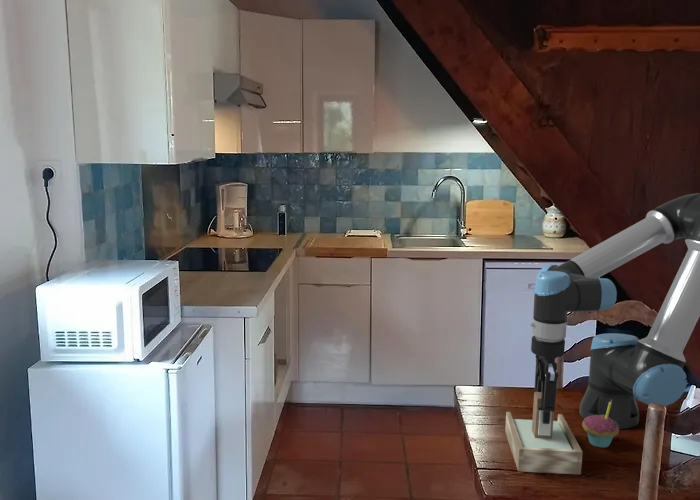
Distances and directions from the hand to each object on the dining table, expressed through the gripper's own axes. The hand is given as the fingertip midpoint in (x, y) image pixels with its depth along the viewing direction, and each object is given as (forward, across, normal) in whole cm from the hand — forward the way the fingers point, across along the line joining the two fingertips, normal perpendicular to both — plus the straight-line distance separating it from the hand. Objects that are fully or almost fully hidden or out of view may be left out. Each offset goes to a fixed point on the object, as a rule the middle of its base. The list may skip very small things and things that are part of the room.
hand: (542, 430), depth 160 cm
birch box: (+6, 0, 0) cm, 6 cm away
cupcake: (+6, -6, +16) cm, 18 cm away
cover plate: (+3, 0, 0) cm, 3 cm away
